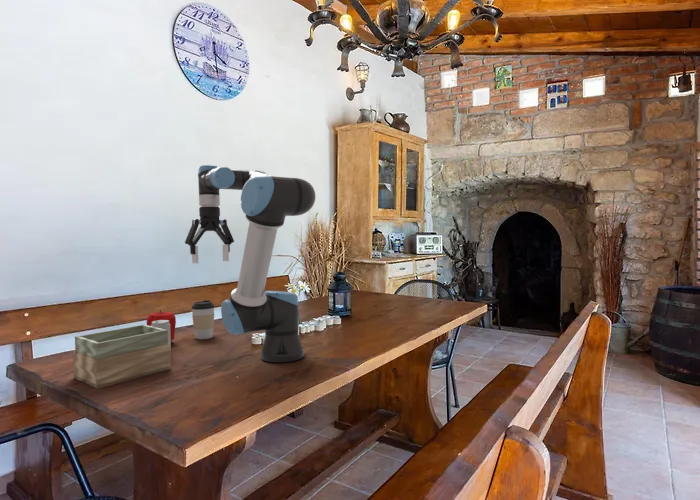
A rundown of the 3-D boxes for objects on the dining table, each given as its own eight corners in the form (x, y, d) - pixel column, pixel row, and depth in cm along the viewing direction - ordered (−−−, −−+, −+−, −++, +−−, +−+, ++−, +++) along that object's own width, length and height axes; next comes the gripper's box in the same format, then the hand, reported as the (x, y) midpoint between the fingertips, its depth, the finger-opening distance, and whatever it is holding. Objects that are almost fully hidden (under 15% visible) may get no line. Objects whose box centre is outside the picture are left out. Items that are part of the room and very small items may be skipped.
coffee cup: (208, 341, 178) (207, 303, 178) (187, 340, 180) (186, 303, 179) (219, 335, 187) (218, 300, 186) (199, 335, 189) (198, 299, 188)
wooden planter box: (171, 369, 142) (169, 329, 141) (97, 388, 125) (95, 344, 124) (145, 360, 152) (144, 324, 151) (73, 377, 134) (72, 336, 134)
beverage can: (155, 352, 162) (154, 319, 161) (173, 352, 162) (172, 319, 162) (148, 357, 155) (147, 323, 155) (167, 356, 156) (166, 322, 156)
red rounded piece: (158, 349, 166) (156, 313, 166) (141, 346, 172) (140, 310, 171) (182, 343, 175) (181, 308, 175) (165, 340, 181) (164, 306, 180)
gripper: (230, 208, 183) (231, 259, 184) (173, 205, 163) (175, 263, 164) (242, 207, 178) (243, 260, 179) (185, 204, 159) (187, 264, 160)
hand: (211, 262), depth 172 cm, fingers open, 13 cm apart
